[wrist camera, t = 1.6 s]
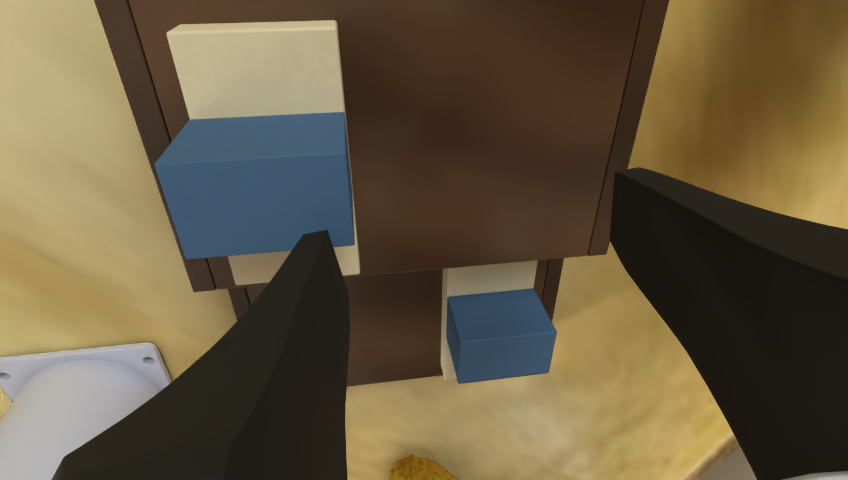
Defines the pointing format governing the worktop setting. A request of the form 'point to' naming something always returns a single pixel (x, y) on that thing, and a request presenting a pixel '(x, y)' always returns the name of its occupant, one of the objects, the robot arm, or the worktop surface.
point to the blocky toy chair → (494, 323)
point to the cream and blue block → (260, 145)
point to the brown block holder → (436, 141)
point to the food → (418, 470)
